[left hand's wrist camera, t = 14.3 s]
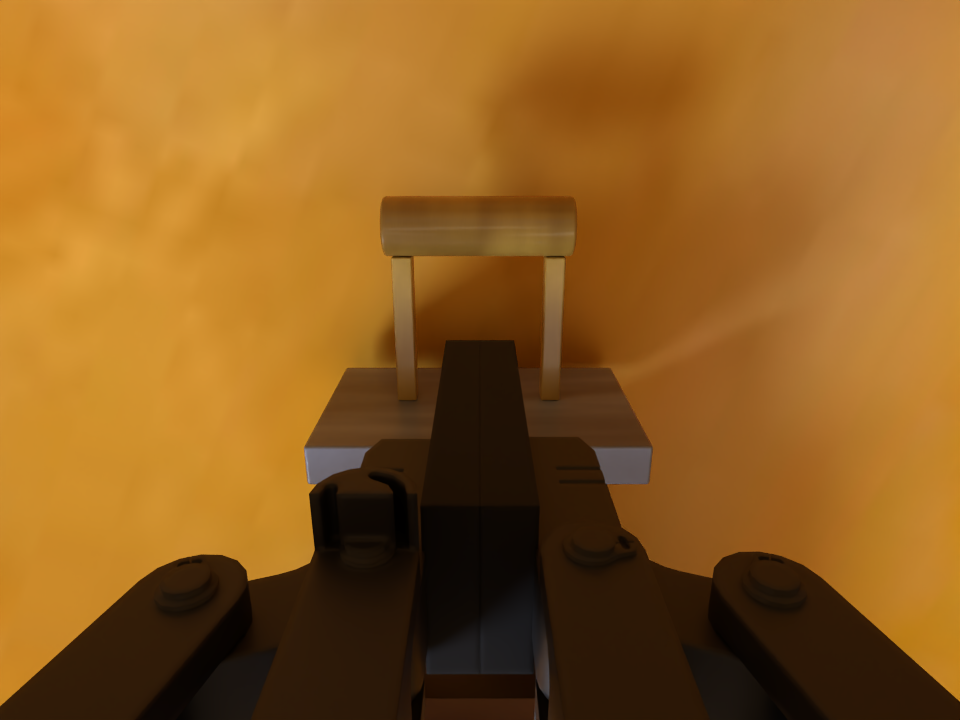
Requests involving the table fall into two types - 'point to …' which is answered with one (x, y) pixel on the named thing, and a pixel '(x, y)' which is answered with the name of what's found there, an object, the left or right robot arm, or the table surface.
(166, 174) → the table surface
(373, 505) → the left robot arm
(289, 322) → the table surface
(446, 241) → the drawer
